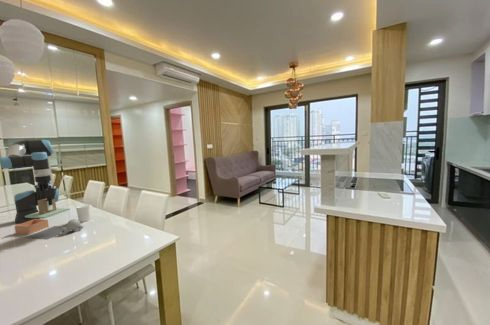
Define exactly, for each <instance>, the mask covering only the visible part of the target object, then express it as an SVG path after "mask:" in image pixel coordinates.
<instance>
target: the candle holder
mask: <svg viewBox="0 0 490 325" xmlns="http://www.w3.org/2000/svg"><path fill="white" fill-rule="evenodd" d="M92 205H93V204H90V203H86V204H80V205H77V206H76V207H75V209H76V213H77V214H76V215H77V220H79V221H80V223H86V222H89V221H92V220H93V207H92Z"/></svg>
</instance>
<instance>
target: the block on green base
mask: <svg viewBox="0 0 490 325" xmlns="http://www.w3.org/2000/svg"><path fill="white" fill-rule="evenodd" d="M46 200H47V198H46V199H42V200H39V201H37V202H38V205H37V209H38V211H39V212H36V213H33V214H30V215H26V216H25V218H39V219H48V218H50V217H53V216H56V215H58V214H61V213H65V212H67V211H70V207H68V208H67V207H66V208H65V207H63V208H62V207H57V204H56V203H57V202H55V199H53V200H52V206H53V209H52V210H49V211H48V209H47V202H46Z"/></svg>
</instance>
